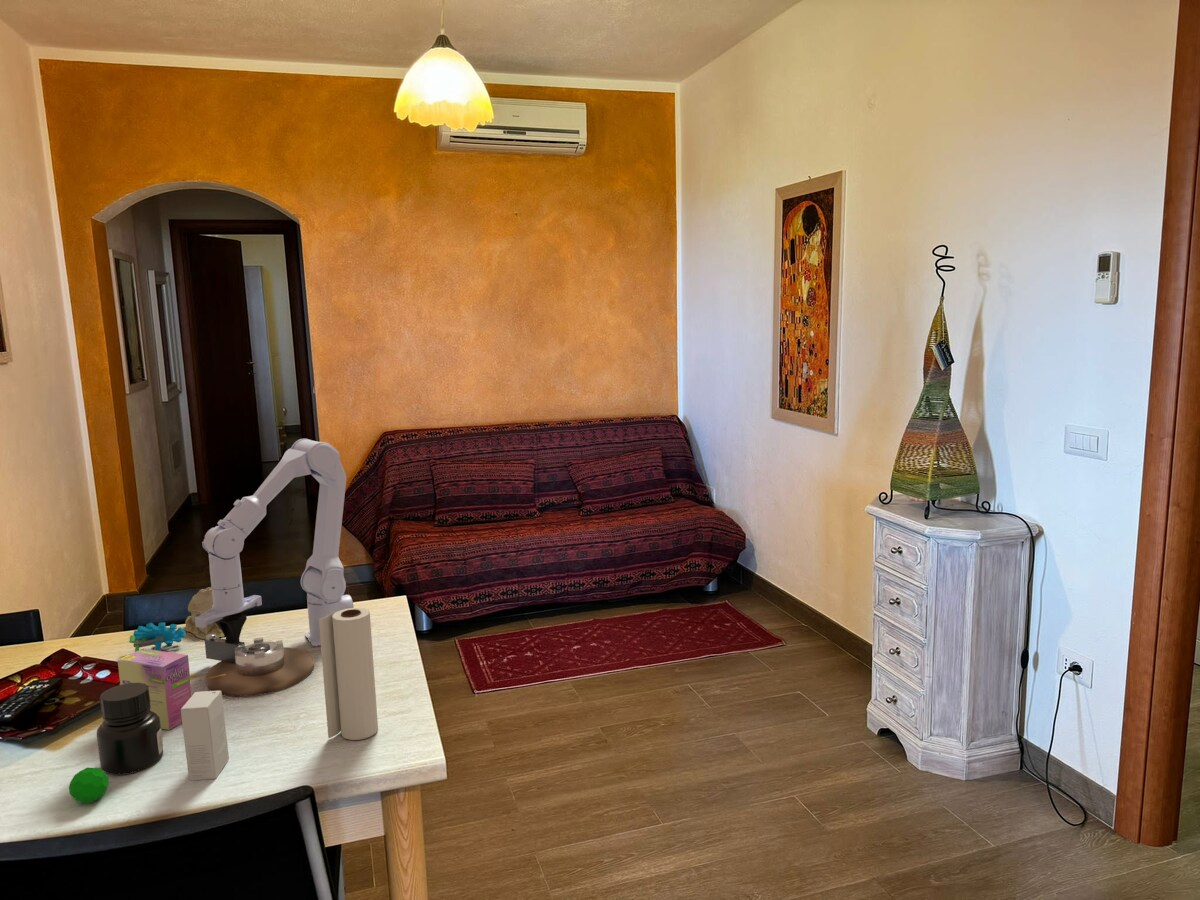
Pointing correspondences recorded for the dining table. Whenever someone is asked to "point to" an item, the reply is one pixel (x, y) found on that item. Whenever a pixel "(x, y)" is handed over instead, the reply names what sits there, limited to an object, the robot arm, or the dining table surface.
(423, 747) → the dining table surface
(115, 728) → the ink bottle
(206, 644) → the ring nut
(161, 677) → the box
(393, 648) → the dining table surface
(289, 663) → the nut base plate
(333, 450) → the robot arm
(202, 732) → the skincare box
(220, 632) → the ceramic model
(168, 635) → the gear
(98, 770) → the polyhedron
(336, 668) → the paper towel roll
